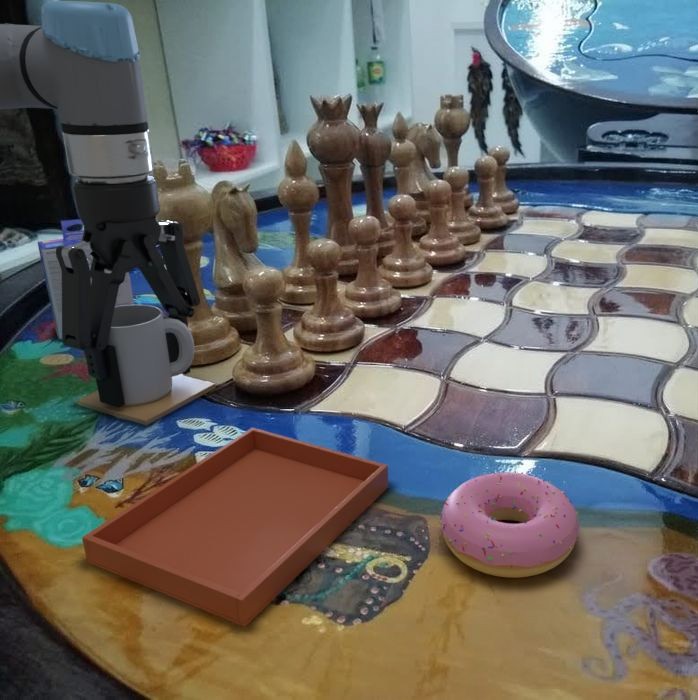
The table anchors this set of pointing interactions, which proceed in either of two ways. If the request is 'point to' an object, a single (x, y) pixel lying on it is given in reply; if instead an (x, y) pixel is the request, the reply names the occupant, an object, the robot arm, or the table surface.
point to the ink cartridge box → (55, 273)
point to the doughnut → (509, 539)
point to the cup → (147, 351)
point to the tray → (238, 523)
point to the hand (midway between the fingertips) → (147, 386)
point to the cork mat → (147, 413)
